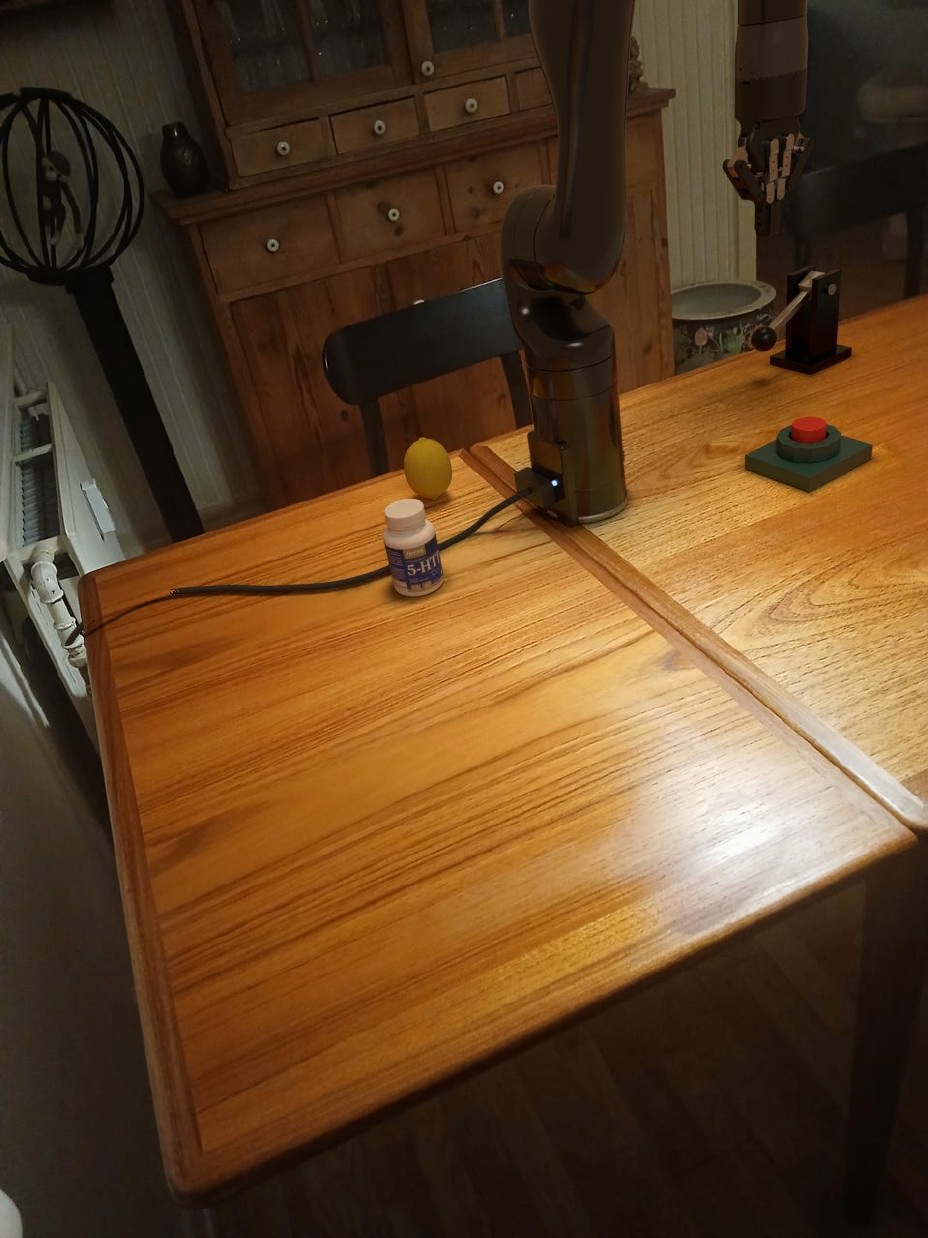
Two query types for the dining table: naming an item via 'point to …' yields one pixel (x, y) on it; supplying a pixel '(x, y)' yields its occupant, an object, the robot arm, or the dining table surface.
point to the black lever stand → (813, 325)
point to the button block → (808, 458)
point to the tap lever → (783, 316)
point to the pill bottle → (412, 549)
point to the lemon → (427, 468)
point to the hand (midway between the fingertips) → (766, 234)
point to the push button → (808, 430)
